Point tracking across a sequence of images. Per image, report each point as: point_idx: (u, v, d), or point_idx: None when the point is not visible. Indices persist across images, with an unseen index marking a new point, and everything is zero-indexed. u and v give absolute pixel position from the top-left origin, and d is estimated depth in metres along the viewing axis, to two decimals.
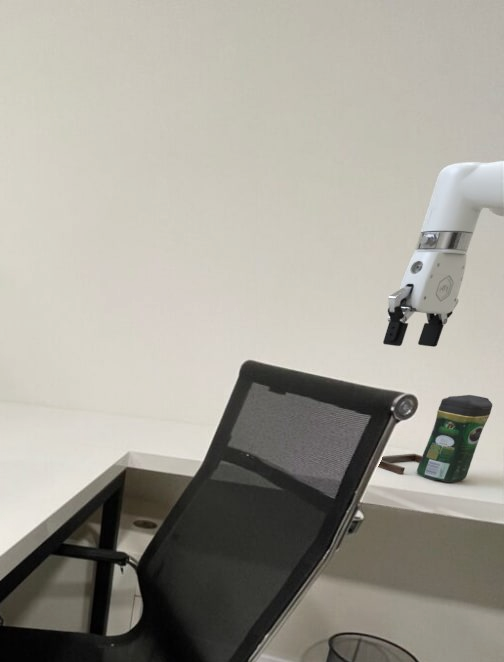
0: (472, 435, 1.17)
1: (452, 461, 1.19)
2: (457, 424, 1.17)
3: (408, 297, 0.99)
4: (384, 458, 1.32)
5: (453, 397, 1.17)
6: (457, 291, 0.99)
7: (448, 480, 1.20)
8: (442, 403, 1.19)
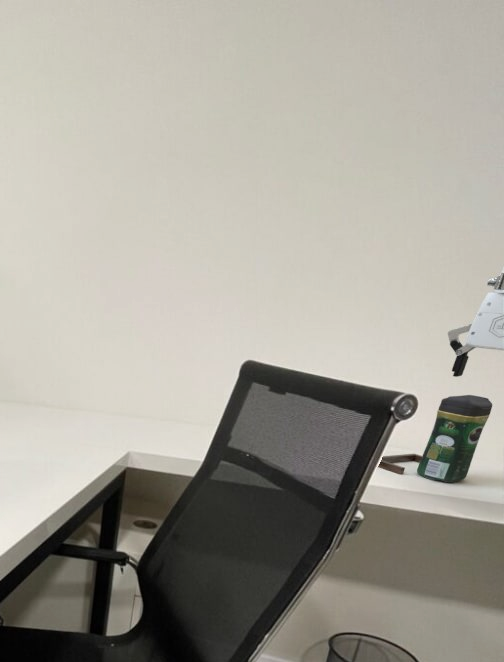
0: (472, 435, 1.17)
1: (452, 461, 1.19)
2: (457, 424, 1.17)
3: None
4: (384, 458, 1.32)
5: (453, 397, 1.17)
6: None
7: (448, 480, 1.20)
8: (442, 403, 1.19)
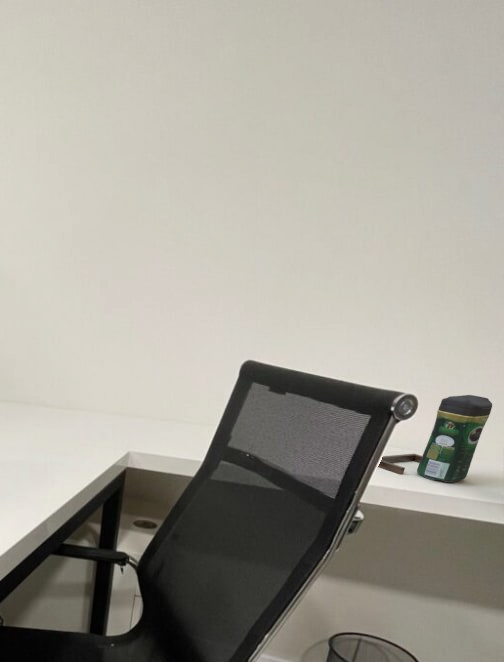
0: (472, 435, 1.17)
1: (452, 461, 1.19)
2: (457, 424, 1.17)
3: None
4: (384, 458, 1.32)
5: (453, 397, 1.17)
6: None
7: (448, 480, 1.20)
8: (442, 403, 1.19)
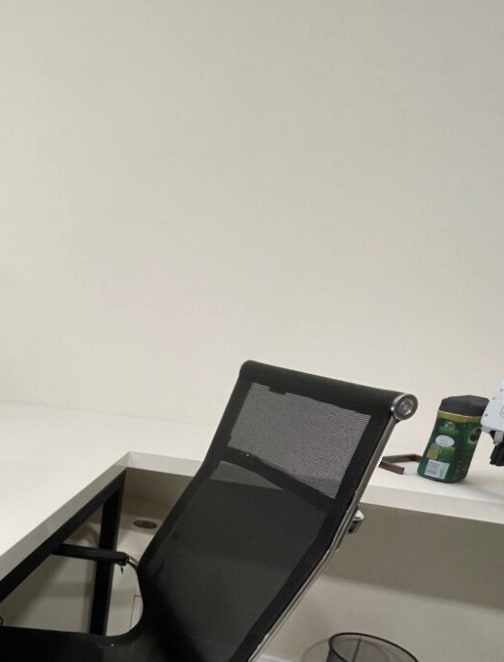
0: (472, 435, 1.17)
1: (452, 461, 1.19)
2: (457, 424, 1.17)
3: None
4: (384, 458, 1.32)
5: (453, 397, 1.17)
6: None
7: (448, 480, 1.20)
8: (442, 403, 1.19)
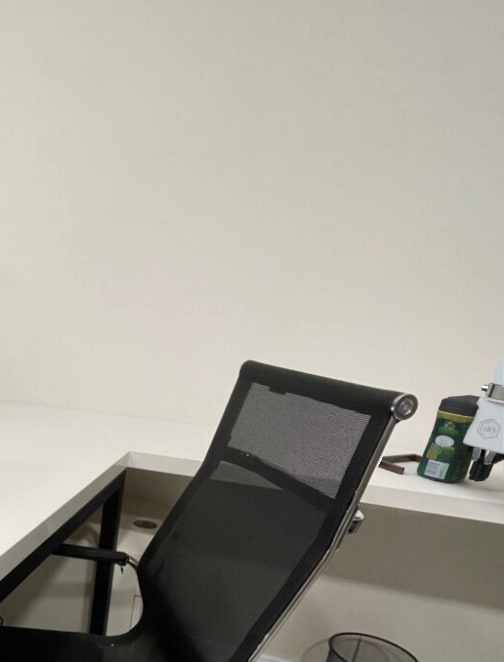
0: None
1: (452, 461, 1.19)
2: (457, 424, 1.17)
3: None
4: (384, 458, 1.32)
5: (453, 397, 1.17)
6: None
7: (448, 480, 1.20)
8: (442, 403, 1.19)
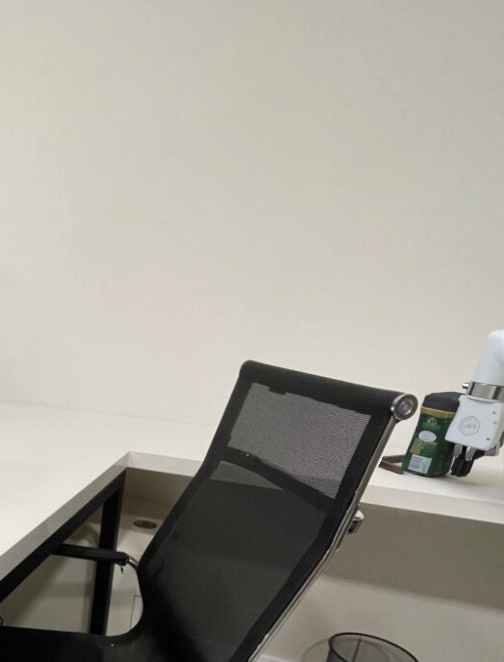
0: None
1: (434, 455, 1.22)
2: (439, 419, 1.20)
3: None
4: (384, 458, 1.32)
5: (435, 393, 1.20)
6: (490, 432, 1.13)
7: (431, 474, 1.23)
8: (425, 399, 1.22)
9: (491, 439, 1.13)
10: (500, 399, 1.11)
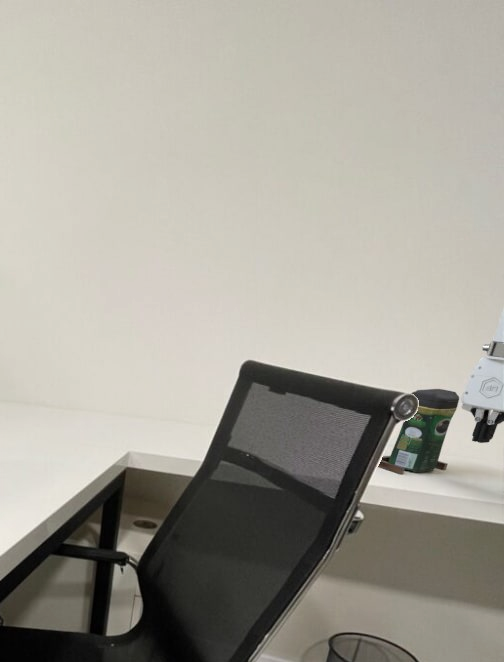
0: (439, 426, 1.23)
1: (420, 451, 1.25)
2: (424, 416, 1.23)
3: None
4: (384, 458, 1.32)
5: (421, 390, 1.23)
6: None
7: (416, 470, 1.26)
8: None
9: None
10: None
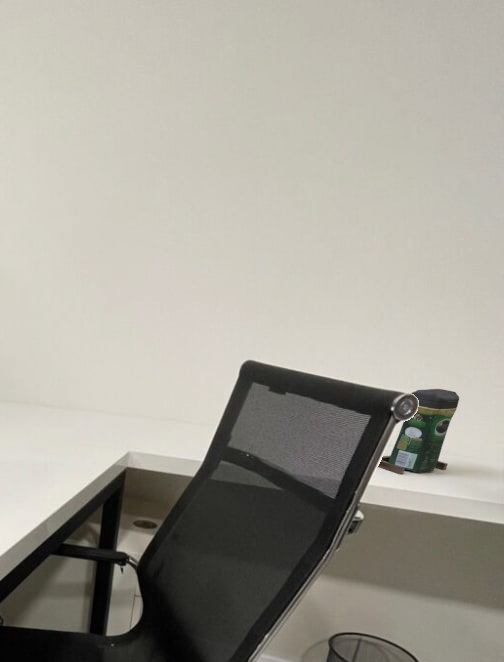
0: (439, 426, 1.23)
1: (420, 451, 1.25)
2: (424, 416, 1.23)
3: None
4: (384, 458, 1.32)
5: (421, 390, 1.23)
6: None
7: (416, 470, 1.26)
8: None
9: None
10: None
